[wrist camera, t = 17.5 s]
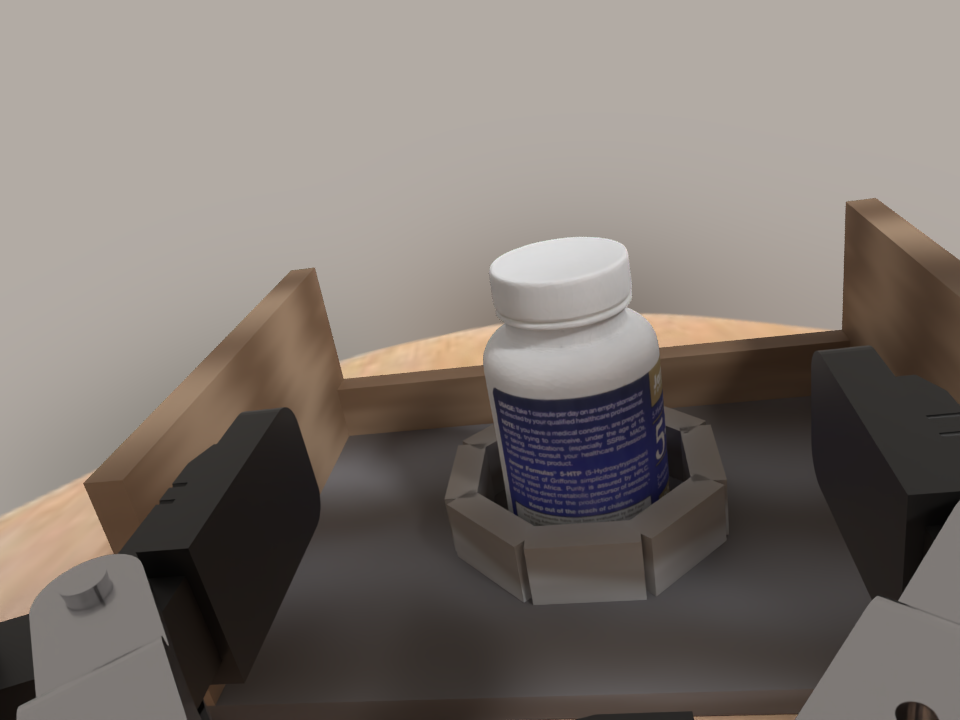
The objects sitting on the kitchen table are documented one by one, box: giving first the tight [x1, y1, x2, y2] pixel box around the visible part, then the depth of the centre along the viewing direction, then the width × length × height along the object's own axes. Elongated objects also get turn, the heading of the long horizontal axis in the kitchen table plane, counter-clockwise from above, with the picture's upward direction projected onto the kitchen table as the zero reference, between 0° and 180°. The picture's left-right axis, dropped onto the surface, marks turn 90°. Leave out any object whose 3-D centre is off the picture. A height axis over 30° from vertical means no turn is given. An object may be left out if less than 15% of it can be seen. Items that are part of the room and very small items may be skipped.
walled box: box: [83, 198, 960, 720], centre depth 25 cm, size 15×22×8 cm
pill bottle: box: [483, 237, 670, 526], centre depth 24 cm, size 5×5×9 cm
